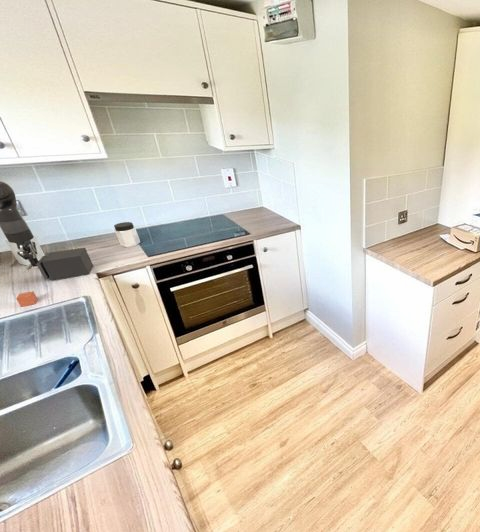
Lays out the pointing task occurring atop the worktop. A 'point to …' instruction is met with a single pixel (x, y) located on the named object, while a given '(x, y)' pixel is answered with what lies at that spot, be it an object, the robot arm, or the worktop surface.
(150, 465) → the worktop surface
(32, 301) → the block
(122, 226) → the jar
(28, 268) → the drawer
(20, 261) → the small box
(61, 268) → the cabinet
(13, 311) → the worktop surface
